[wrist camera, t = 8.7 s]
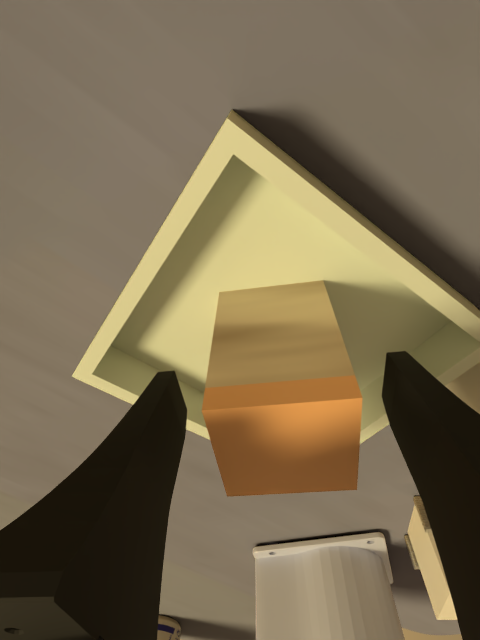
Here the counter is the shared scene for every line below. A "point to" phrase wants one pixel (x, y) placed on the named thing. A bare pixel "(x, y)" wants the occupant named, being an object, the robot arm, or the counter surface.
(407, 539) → the clip holder
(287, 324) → the wooden block
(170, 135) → the counter surface
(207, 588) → the counter surface
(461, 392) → the block
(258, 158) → the tray
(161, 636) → the energy drink
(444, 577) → the beige small block
